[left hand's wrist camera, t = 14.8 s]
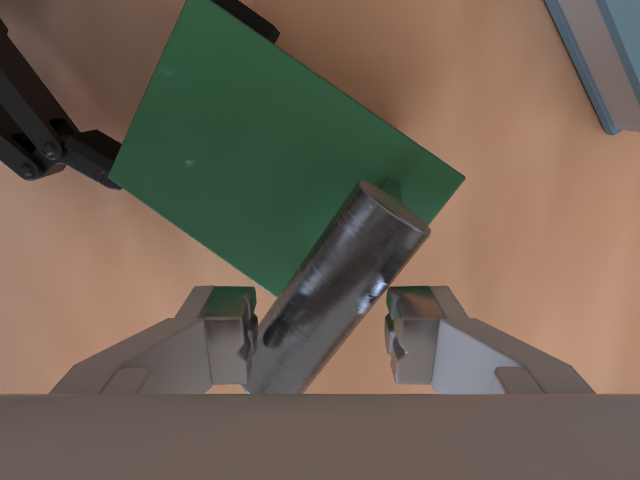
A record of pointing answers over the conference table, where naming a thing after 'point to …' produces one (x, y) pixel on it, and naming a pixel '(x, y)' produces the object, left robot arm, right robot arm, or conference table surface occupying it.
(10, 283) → the conference table surface
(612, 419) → the left robot arm
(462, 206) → the conference table surface
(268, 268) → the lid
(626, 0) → the book
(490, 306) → the conference table surface
